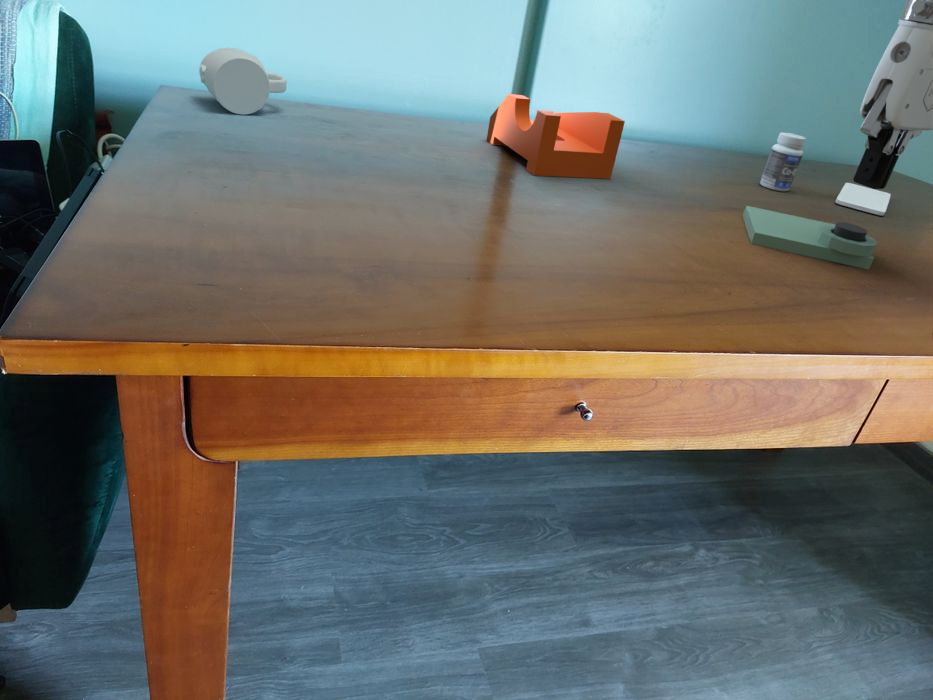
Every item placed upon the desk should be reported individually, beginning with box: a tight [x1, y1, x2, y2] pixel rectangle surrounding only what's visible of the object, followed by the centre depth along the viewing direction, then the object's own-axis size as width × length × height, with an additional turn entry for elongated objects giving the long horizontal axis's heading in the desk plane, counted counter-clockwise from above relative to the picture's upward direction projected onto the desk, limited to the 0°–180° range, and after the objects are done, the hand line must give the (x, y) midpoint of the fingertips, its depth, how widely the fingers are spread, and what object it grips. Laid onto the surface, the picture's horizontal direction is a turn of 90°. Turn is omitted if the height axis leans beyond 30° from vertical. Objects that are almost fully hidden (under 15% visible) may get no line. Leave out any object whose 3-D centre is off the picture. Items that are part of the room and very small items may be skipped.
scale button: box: [832, 221, 868, 242], centre depth 89 cm, size 4×4×1 cm
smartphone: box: [835, 182, 892, 216], centre depth 118 cm, size 7×1×15 cm
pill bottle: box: [759, 131, 807, 192], centre depth 116 cm, size 5×5×8 cm
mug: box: [198, 47, 287, 116], centre depth 110 cm, size 12×9×8 cm
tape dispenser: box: [486, 93, 626, 180], centre depth 110 cm, size 18×13×8 cm
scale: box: [742, 205, 878, 270], centre depth 93 cm, size 14×13×3 cm
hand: (868, 185), depth 86 cm, fingers closed
